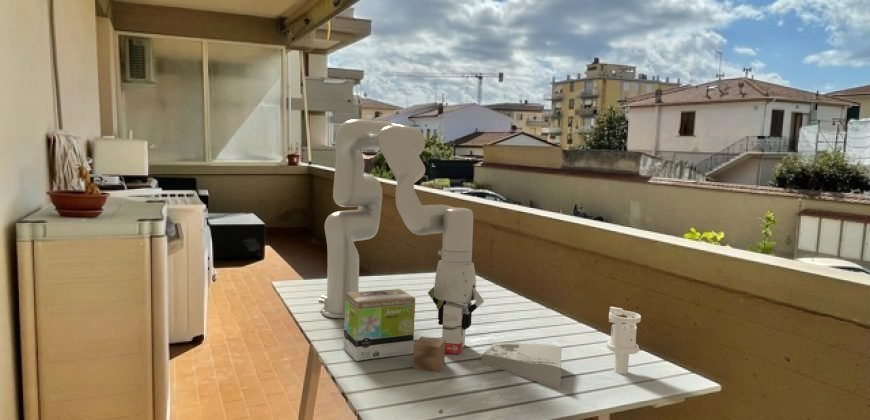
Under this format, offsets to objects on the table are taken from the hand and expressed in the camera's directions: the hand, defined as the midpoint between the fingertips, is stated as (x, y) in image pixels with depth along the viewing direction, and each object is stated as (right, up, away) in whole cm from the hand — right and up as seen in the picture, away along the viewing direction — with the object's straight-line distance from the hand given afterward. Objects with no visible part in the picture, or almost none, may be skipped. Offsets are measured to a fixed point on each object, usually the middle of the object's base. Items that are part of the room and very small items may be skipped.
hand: (454, 325), depth 143 cm
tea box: (-19, -6, -4) cm, 20 cm away
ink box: (0, -6, +1) cm, 6 cm away
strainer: (+39, -9, -11) cm, 41 cm away
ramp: (+16, -8, -10) cm, 21 cm away
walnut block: (-6, -7, -12) cm, 15 cm away
